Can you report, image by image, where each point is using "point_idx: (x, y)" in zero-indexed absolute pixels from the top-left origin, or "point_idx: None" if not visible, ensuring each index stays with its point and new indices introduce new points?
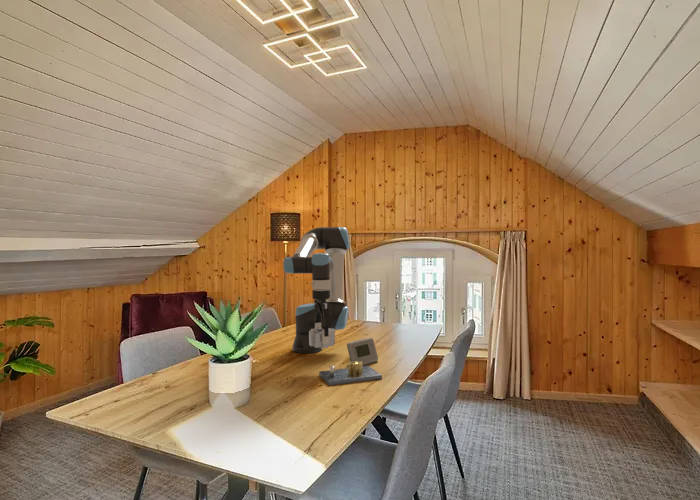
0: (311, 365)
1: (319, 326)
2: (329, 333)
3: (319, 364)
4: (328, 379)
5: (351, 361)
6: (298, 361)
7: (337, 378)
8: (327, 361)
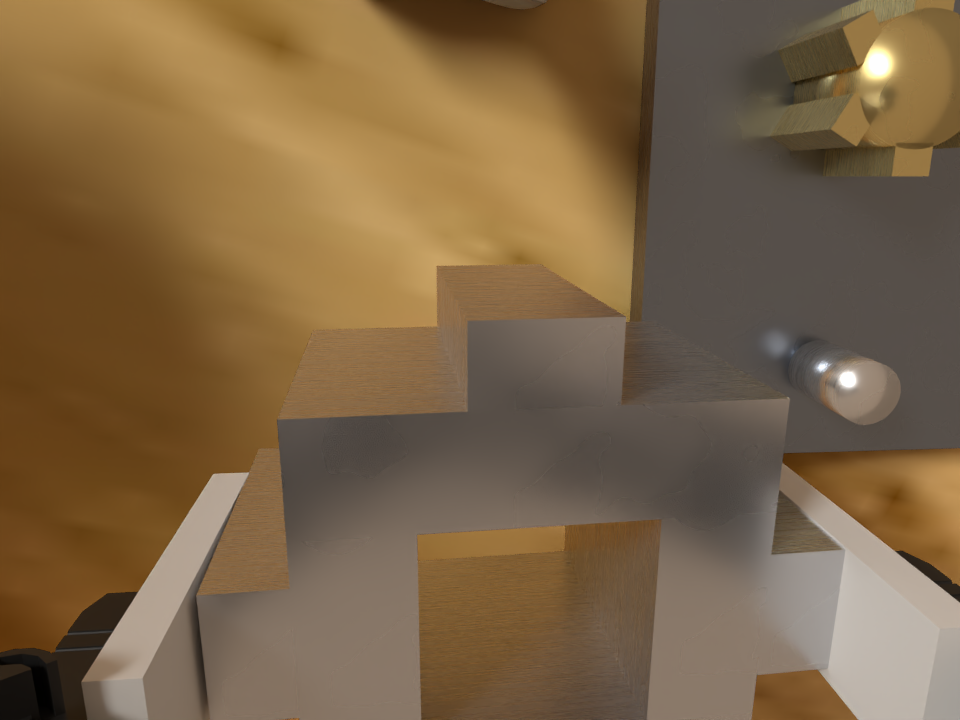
0: (254, 436)
1: (184, 652)
2: (763, 494)
3: (241, 344)
4: (912, 436)
5: (524, 3)
6: (44, 534)
7: (929, 348)
8: (137, 218)
